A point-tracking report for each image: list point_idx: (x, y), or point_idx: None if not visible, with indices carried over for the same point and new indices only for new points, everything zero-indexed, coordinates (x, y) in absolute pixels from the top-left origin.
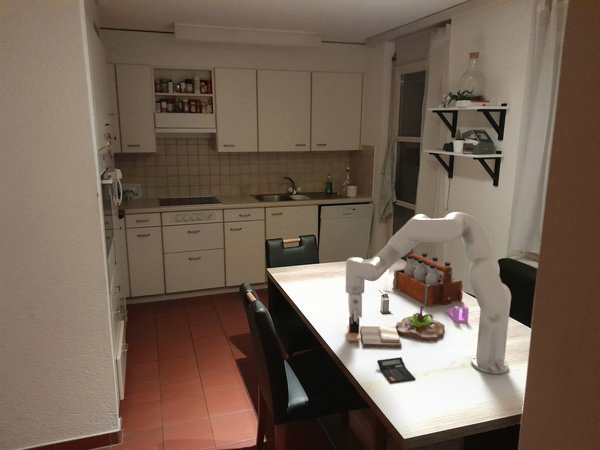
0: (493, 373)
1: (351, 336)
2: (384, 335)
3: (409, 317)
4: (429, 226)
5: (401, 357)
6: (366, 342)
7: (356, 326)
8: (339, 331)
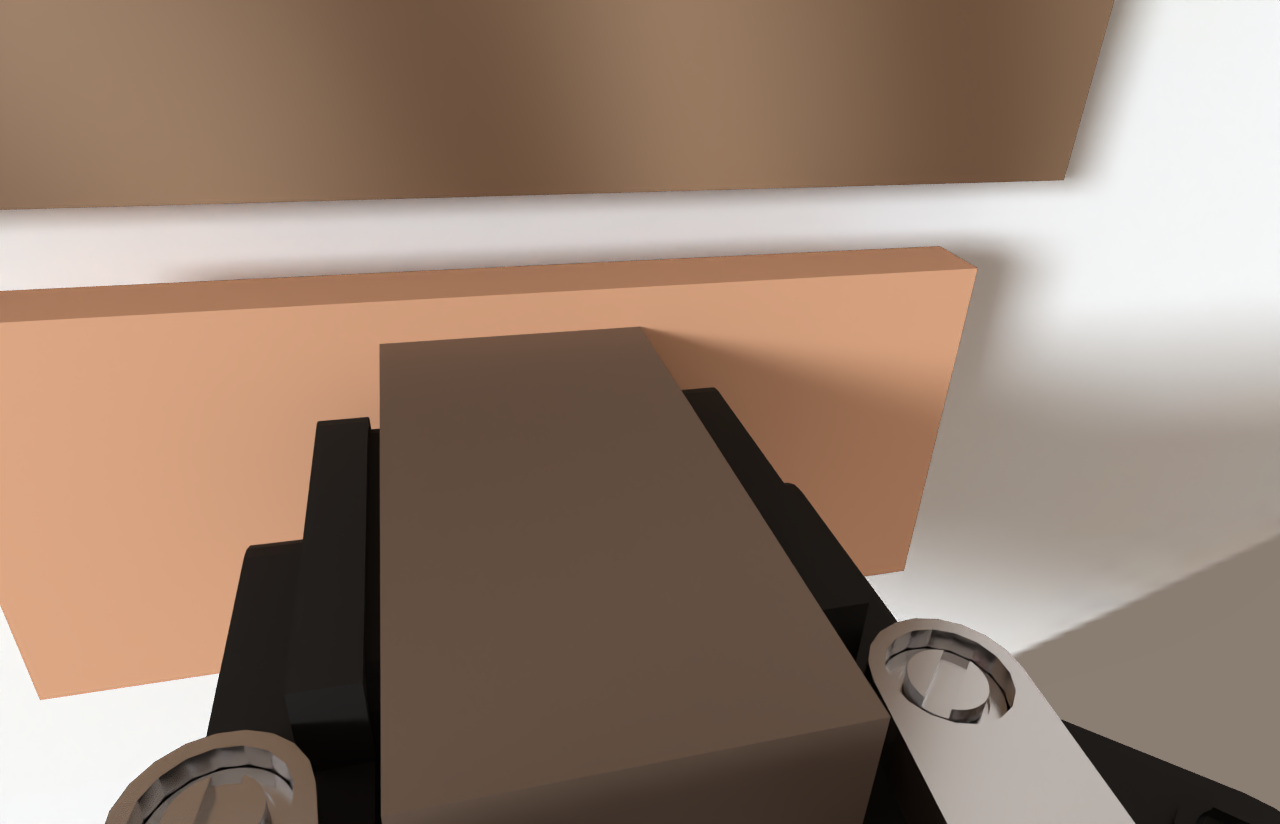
0: None
1: (834, 517)
2: None
3: None
4: None
5: None
6: (1032, 82)
7: (870, 586)
8: (176, 708)
